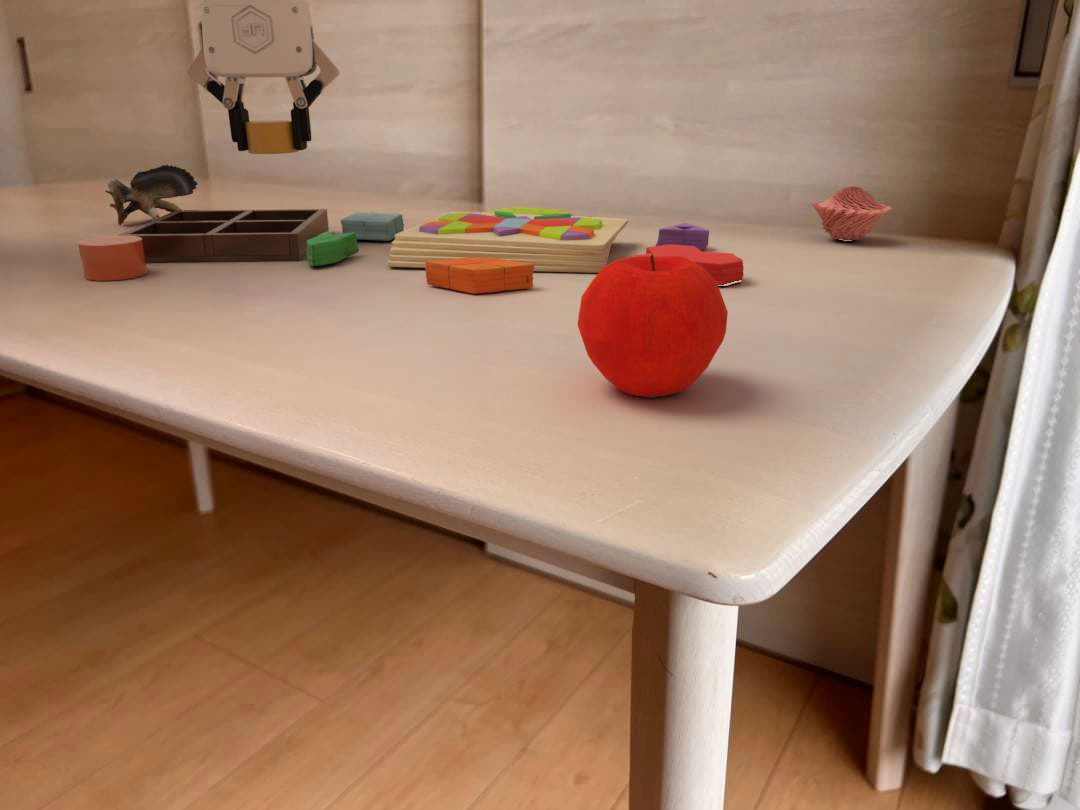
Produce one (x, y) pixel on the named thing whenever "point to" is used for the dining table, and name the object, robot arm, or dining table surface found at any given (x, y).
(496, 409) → the dining table surface
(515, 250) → the pattern blocks set
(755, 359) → the dining table surface
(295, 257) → the grid
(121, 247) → the cylinder
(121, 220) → the bracket fungus on branch
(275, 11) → the robot arm
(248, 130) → the mustard yellow cylinder
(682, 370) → the apple
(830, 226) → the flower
